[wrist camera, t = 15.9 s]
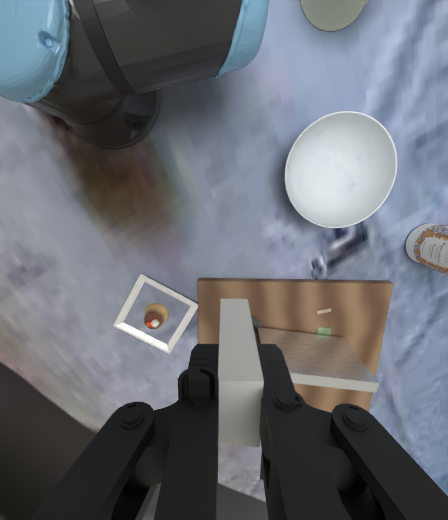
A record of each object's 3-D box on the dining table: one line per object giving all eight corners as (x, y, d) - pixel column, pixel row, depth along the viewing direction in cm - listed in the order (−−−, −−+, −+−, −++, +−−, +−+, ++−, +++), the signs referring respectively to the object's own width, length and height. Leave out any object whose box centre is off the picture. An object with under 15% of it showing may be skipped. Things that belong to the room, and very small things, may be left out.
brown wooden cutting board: (200, 405, 57) (199, 412, 55) (198, 277, 49) (197, 281, 47) (364, 407, 57) (368, 414, 55) (388, 280, 49) (394, 284, 47)
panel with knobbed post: (234, 339, 50) (238, 399, 36) (237, 317, 49) (243, 371, 35) (340, 351, 50) (383, 416, 37) (346, 330, 49) (393, 388, 35)
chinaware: (322, 238, 47) (340, 249, 40) (255, 181, 45) (262, 181, 37) (387, 167, 44) (421, 163, 36) (320, 101, 41) (341, 83, 34)
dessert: (114, 323, 52) (104, 336, 48) (142, 271, 49) (133, 280, 45) (170, 351, 54) (165, 366, 49) (200, 302, 51) (198, 314, 46)
